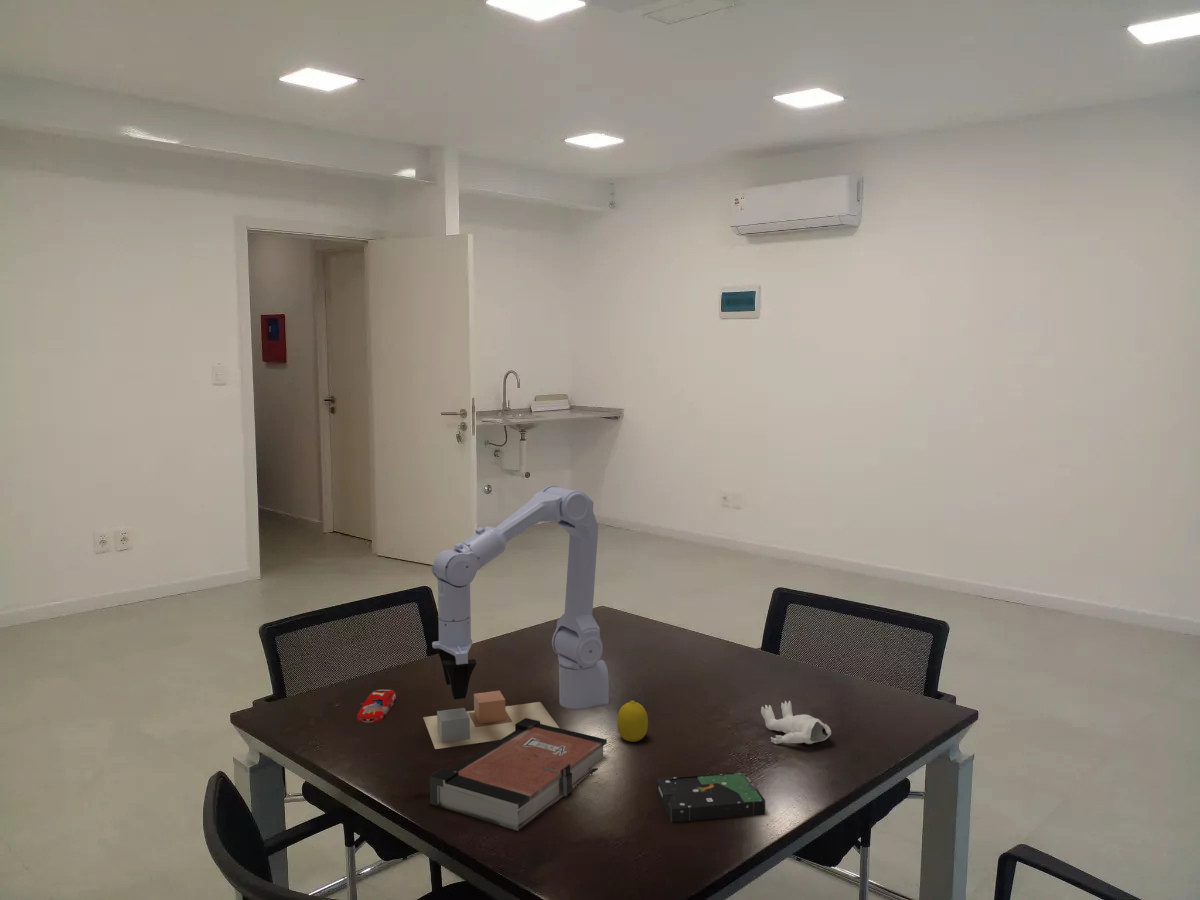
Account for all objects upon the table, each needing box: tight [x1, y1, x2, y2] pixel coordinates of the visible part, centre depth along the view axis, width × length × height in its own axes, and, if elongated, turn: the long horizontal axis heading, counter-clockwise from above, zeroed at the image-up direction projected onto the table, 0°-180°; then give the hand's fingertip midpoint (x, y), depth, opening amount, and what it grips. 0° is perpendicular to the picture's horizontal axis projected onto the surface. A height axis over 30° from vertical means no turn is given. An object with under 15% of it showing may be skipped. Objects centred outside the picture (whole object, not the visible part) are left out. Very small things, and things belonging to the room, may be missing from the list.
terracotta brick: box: [473, 690, 506, 724], centre depth 174 cm, size 5×5×4 cm
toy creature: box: [760, 700, 832, 745], centre depth 166 cm, size 12×6×12 cm
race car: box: [356, 689, 397, 724], centre depth 178 cm, size 13×5×4 cm, turn 177°
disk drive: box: [656, 772, 766, 823], centre depth 142 cm, size 10×3×15 cm
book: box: [428, 718, 608, 832], centre depth 149 cm, size 26×18×5 cm
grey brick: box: [436, 707, 470, 743], centre depth 165 cm, size 5×5×4 cm
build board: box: [422, 701, 560, 750], centre depth 171 cm, size 23×15×1 cm, turn 109°
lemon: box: [616, 699, 649, 743], centre depth 164 cm, size 6×6×8 cm
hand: (455, 690), depth 165 cm, fingers open, 7 cm apart
